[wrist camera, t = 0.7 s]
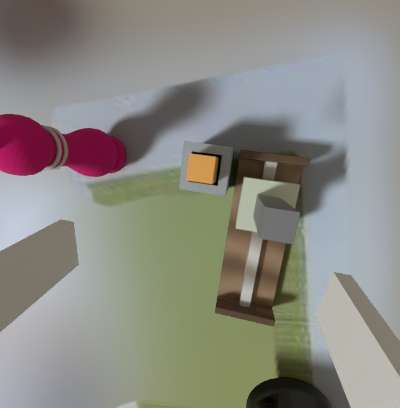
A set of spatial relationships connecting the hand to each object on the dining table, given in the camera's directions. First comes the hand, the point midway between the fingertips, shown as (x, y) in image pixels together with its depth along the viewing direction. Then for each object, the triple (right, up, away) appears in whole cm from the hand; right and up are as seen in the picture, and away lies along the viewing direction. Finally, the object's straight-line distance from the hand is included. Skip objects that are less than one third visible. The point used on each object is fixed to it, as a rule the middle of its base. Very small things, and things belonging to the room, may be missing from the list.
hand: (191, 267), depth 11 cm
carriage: (+10, +3, +20) cm, 23 cm away
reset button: (+2, +8, +19) cm, 20 cm away
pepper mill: (-15, +12, +26) cm, 33 cm away
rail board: (+10, -2, +24) cm, 26 cm away
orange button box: (+2, +9, +24) cm, 25 cm away
